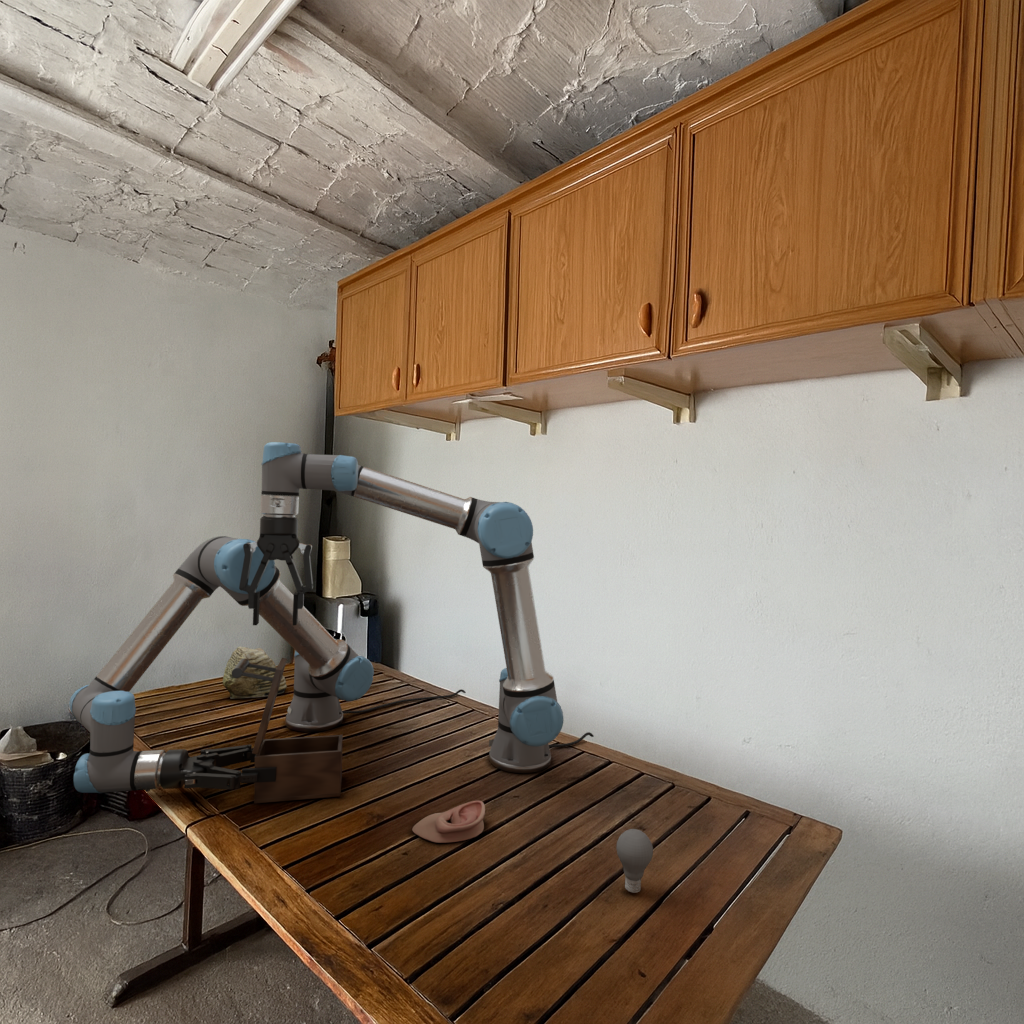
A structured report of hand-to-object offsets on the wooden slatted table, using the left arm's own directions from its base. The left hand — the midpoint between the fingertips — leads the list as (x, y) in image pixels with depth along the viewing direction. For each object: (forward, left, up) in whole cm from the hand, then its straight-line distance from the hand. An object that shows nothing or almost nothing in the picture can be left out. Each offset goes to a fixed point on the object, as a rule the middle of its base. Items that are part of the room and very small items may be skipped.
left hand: (279, 763), depth 135 cm
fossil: (-30, -63, -6) cm, 70 cm away
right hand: (+1, -1, +30) cm, 30 cm away
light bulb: (-21, +73, -6) cm, 76 cm away
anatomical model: (-14, +37, -6) cm, 40 cm away
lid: (+1, -1, +13) cm, 13 cm away
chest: (-4, +3, -6) cm, 7 cm away
